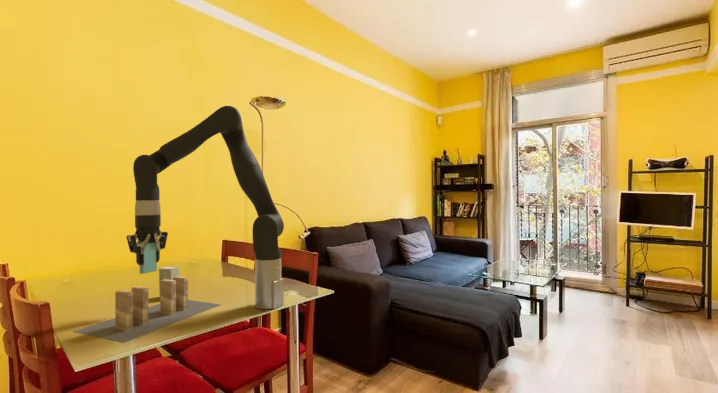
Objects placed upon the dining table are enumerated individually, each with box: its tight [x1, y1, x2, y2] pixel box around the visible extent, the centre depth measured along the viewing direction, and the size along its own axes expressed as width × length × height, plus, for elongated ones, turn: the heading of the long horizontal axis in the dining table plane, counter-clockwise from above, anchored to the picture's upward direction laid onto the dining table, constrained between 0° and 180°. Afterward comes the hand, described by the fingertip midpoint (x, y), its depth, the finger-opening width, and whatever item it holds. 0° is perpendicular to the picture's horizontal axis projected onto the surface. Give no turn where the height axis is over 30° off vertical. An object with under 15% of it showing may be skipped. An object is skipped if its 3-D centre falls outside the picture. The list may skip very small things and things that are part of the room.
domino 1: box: [114, 289, 133, 331], centre depth 104 cm, size 2×5×11 cm, turn 69°
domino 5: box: [173, 275, 189, 310], centre depth 123 cm, size 2×5×11 cm, turn 69°
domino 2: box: [139, 241, 158, 275], centre depth 120 cm, size 2×5×11 cm, turn 159°
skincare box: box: [158, 265, 180, 294], centre depth 137 cm, size 6×4×12 cm
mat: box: [71, 299, 222, 344], centre depth 114 cm, size 22×36×1 cm, turn 159°
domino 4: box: [159, 279, 176, 315], centre depth 118 cm, size 2×5×11 cm, turn 69°
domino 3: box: [131, 285, 150, 325], centre depth 109 cm, size 2×5×11 cm, turn 69°
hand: (148, 263), depth 120 cm, fingers closed on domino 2, 5 cm apart
